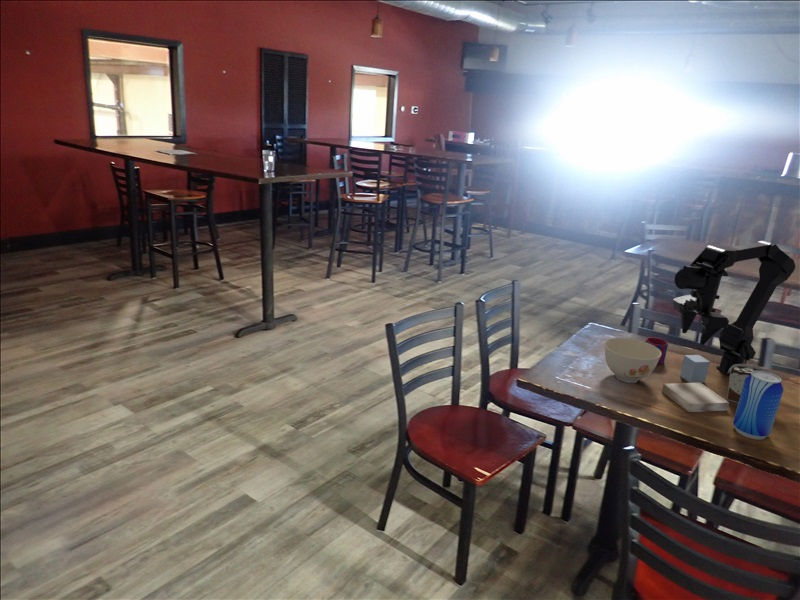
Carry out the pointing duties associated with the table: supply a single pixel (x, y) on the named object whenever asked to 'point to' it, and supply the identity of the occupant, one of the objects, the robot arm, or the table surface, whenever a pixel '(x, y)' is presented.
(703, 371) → the slate block
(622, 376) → the bowl
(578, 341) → the table surface
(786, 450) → the table surface
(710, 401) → the birch base
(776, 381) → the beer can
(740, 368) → the food container
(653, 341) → the mug
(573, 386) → the table surface
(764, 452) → the table surface
